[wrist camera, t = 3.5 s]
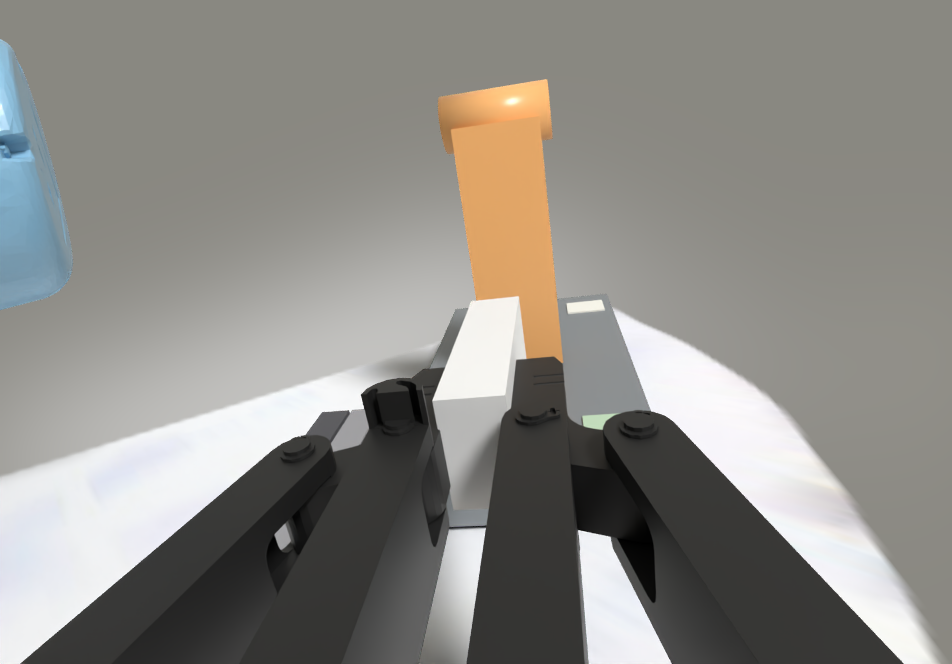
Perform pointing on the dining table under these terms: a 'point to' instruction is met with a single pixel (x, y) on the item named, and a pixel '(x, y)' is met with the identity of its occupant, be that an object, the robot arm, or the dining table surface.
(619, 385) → the base
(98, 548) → the dining table surface
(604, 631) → the dining table surface
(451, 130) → the handle
